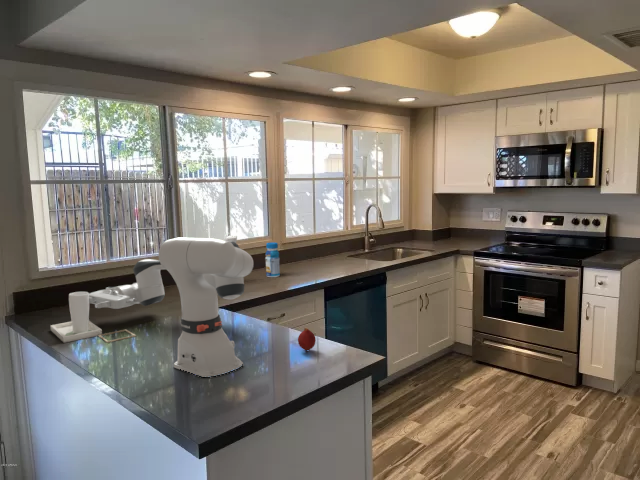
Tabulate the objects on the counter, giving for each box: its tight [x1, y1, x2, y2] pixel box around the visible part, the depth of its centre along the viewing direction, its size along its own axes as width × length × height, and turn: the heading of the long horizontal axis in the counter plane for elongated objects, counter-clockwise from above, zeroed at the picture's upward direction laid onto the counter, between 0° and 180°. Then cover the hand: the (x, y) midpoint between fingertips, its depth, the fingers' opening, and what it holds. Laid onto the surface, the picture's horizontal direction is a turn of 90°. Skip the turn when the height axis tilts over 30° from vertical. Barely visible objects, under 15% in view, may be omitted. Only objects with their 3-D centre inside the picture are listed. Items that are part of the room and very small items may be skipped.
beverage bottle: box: [264, 242, 281, 278], centre depth 282 cm, size 8×8×20 cm
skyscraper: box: [223, 232, 238, 244], centre depth 265 cm, size 8×8×28 cm
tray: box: [50, 320, 103, 344], centre depth 181 cm, size 20×13×2 cm, turn 41°
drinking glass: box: [68, 291, 90, 334], centre depth 177 cm, size 7×7×15 cm
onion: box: [297, 327, 317, 351], centre depth 156 cm, size 6×6×8 cm
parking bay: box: [98, 328, 137, 344], centre depth 175 cm, size 10×10×1 cm
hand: (89, 304), depth 181 cm, fingers open, 8 cm apart
